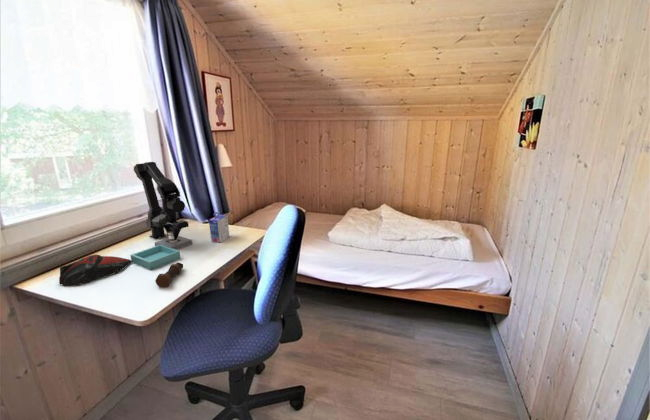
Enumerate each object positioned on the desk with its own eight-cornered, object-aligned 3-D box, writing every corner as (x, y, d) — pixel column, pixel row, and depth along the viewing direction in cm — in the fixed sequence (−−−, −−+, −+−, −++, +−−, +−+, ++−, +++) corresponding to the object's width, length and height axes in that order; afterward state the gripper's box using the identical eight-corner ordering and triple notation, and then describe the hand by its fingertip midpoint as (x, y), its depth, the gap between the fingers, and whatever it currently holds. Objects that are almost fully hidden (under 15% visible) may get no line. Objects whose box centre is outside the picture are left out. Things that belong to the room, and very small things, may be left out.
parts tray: (131, 262, 137) (130, 254, 136) (161, 251, 149) (160, 244, 148) (150, 270, 131) (149, 262, 130) (180, 258, 142) (179, 251, 141)
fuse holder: (155, 246, 154) (154, 242, 154) (176, 238, 164) (176, 235, 164) (170, 251, 149) (170, 247, 148) (192, 243, 159) (191, 239, 158)
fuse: (168, 245, 156) (166, 232, 154) (174, 243, 159) (173, 230, 157) (172, 247, 154) (171, 233, 152) (179, 244, 157) (178, 231, 155)
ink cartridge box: (220, 235, 171) (218, 210, 167) (229, 236, 170) (228, 210, 166) (210, 242, 161) (207, 215, 157) (219, 243, 160) (217, 216, 156)
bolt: (182, 273, 133) (165, 291, 118) (171, 267, 132) (153, 284, 117) (188, 262, 131) (171, 278, 117) (177, 256, 131) (159, 272, 116)
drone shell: (52, 288, 116) (47, 269, 113) (78, 265, 134) (74, 248, 132) (116, 283, 121) (113, 264, 118) (133, 261, 139) (131, 244, 137)
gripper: (141, 209, 149) (146, 239, 153) (166, 215, 140) (170, 247, 144) (163, 204, 158) (166, 233, 163) (187, 209, 149) (190, 240, 154)
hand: (173, 238), depth 156 cm, fingers closed on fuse, 4 cm apart
